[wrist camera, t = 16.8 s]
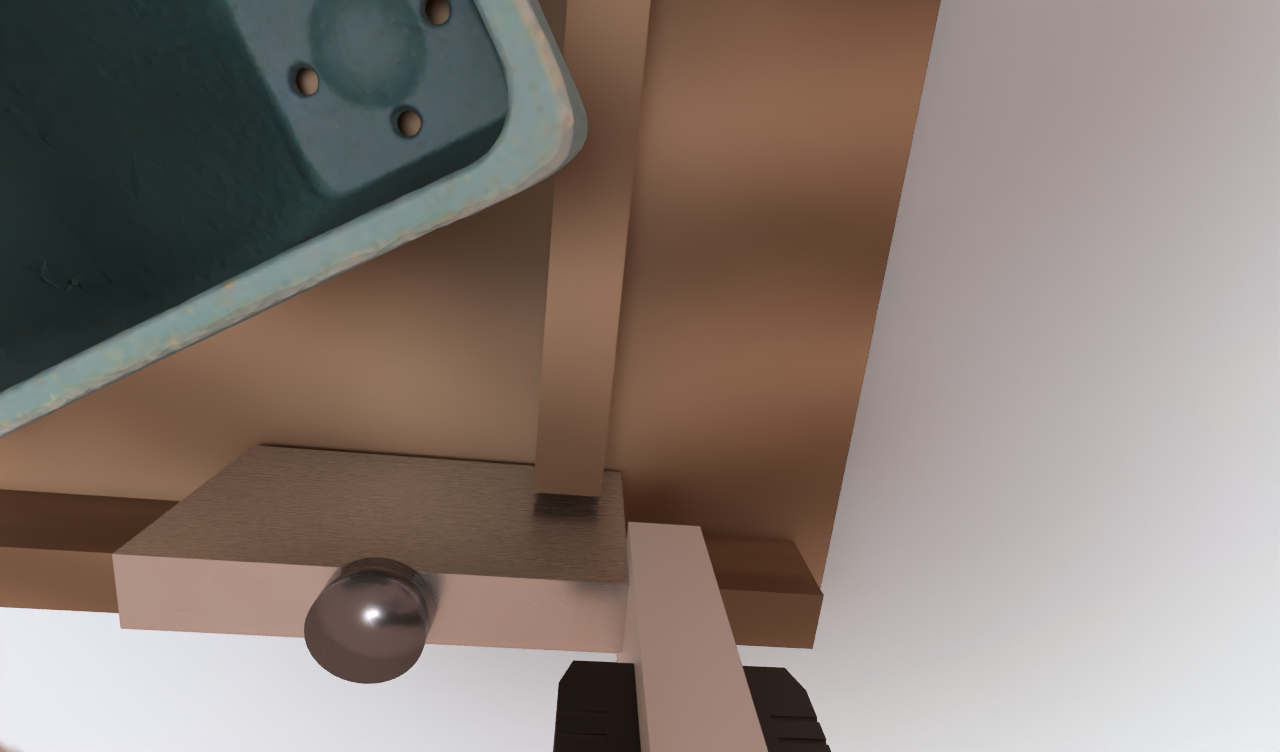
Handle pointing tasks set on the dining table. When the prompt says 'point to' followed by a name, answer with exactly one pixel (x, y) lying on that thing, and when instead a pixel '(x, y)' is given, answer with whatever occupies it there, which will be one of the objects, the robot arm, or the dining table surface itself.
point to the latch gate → (382, 559)
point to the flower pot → (240, 162)
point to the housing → (569, 315)
